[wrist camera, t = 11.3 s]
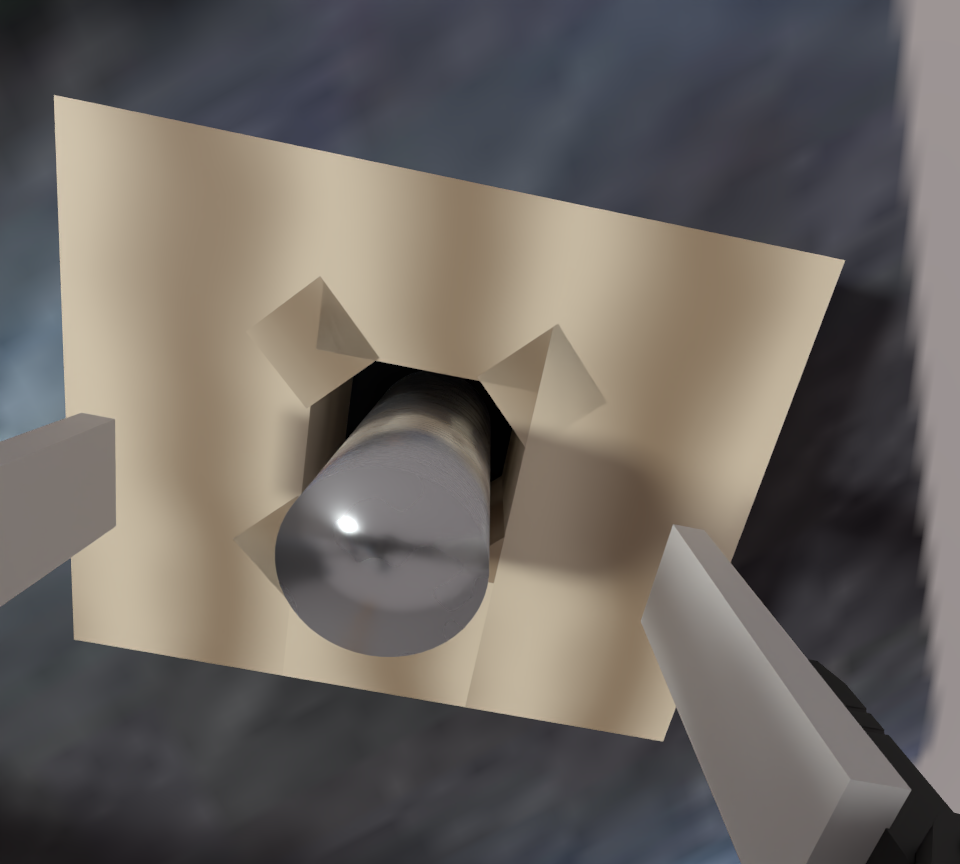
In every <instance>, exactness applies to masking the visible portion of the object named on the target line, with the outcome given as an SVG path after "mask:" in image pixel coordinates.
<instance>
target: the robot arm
mask: <svg viewBox="0 0 960 864" xmlns="http://www.w3.org/2000/svg"><path fill="white" fill-rule="evenodd" d="M114 527H116V458H115V419H112V418H107V417H102V416H96V415H91V414H86V413H79V414H76V415H73V416H71V417H68V418H65V419H62V420H60V421H57V422H54V423H51V424H48V425H46V426H43V427H40V428H37V429H35V430H32V431H29V432H26V433H24V434H21V435H18V436H15V437H12V438H10V439H7V440H4V441H1V442H0V607H1V606H2V605H4V604H5V603H6V602H8V601H9V600H11V599H12V598H14V597H15V596H16V595H18V594H19V593H21V592H22V591H24V590H25V589H26V588H28V587H29V586H31V585H32V584H34V583H35V582H37V581H38V580H39V579H41V578H42V577H44V576H45V575H47V574H48V573H49V572H51V571H52V570H54V569H55V568H57V567H58V566H60V565H61V564H62V563H64V562H65V561H67V560H68V559H70V558H71V557H72V556H74V555H75V554H77V553H78V552H80V551H81V550H83V549H84V548H85V547H87V546H88V545H90V544H91V543H93V542H94V541H95V540H97V539H98V538H100V537H101V536H103V535H104V534H105V533H107V532H108V531H110V530H111V529H113V528H114ZM641 623H642V626H643V628H644V631H645V633H646V635H647V638H648V640H649V643H650V645H651V647H652V650H653V652H654V655H655V657H656V659H657V662H658V664H659V667H660V669H661V671H662V674H663V676H664V679H665V681H666V684H667V686H668V688H669V691H670V693H671V696H672V698H673V700H674V703H675V705H676V708H677V710H678V712H679V715H680V717H681V720H682V722H683V724H684V727H685V729H686V732H687V734H688V736H689V739H690V741H691V744H692V746H693V749H694V751H695V753H696V756H697V758H698V761H699V763H700V765H701V768H702V770H703V773H704V775H705V777H706V780H707V782H708V785H709V787H710V789H711V792H712V794H713V797H714V799H715V801H716V804H717V806H718V809H719V811H720V814H721V816H722V818H723V821H724V823H725V826H726V828H727V830H728V833H729V835H730V838H731V840H732V842H733V845H734V847H735V850H736V852H737V854H738V857H739V859H740V862H741V864H960V814H957V813H954V812H953V811H952V810H951V809H950V808H949V806H948V805H947V804H946V803H945V802H944V801H943V800H942V798H941V797H940V796H939V794H938V793H937V792H936V791H935V790H934V789H933V787H932V786H931V785H930V784H929V783H928V781H927V780H926V779H925V778H924V777H923V775H922V774H921V773H920V772H919V771H918V770H917V768H916V767H915V766H914V765H913V764H912V762H911V761H910V760H909V759H908V758H907V756H906V755H905V754H904V753H903V752H902V750H901V749H900V748H899V747H898V746H897V745H896V743H895V742H894V741H893V740H892V739H891V737H890V736H889V735H885V734H884V729H883V728H882V727H881V726H880V724H879V723H878V722H877V721H876V720H875V718H874V717H873V716H872V715H871V714H869V713H867V712H866V708H865V707H864V705H863V704H862V703H861V702H860V701H859V699H858V698H857V697H856V696H855V695H854V693H853V692H852V691H851V690H850V689H849V688H848V686H847V685H846V684H845V683H844V682H842V681H841V680H840V679H839V678H838V677H836V676H835V675H834V674H833V673H831V672H830V671H829V670H828V669H826V668H825V667H824V666H823V665H821V664H820V663H819V662H818V661H814V660H809V659H807V658H806V657H805V656H804V654H803V653H802V652H801V651H800V649H799V648H798V647H797V646H796V644H795V643H794V642H793V641H792V639H791V638H790V637H789V636H788V634H787V633H786V632H785V631H784V629H783V628H782V627H781V626H780V624H779V623H778V622H777V621H776V619H775V618H774V617H773V615H772V614H771V613H770V612H769V610H768V609H767V608H766V607H765V605H764V604H763V603H762V602H761V600H760V599H759V598H758V597H757V595H756V594H755V593H754V592H753V590H752V589H751V588H750V587H749V585H748V584H747V583H746V582H745V580H744V579H743V578H742V577H741V575H740V574H739V573H738V572H737V570H736V569H735V568H734V567H733V565H732V564H731V563H730V562H729V560H728V559H727V558H726V557H725V555H724V554H723V553H722V552H721V550H720V549H719V548H718V547H717V545H716V544H715V543H714V542H713V540H712V539H711V538H710V537H709V535H708V534H707V533H706V531H705V530H702V529H696V528H691V527H686V526H680V525H675V524H673V526H672V529H671V532H670V535H669V538H668V541H667V544H666V547H665V550H664V553H663V556H662V559H661V562H660V565H659V568H658V571H657V574H656V577H655V580H654V583H653V586H652V589H651V592H650V595H649V598H648V601H647V604H646V607H645V610H644V613H643V616H642V619H641Z"/></svg>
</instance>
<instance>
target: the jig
mask: <svg viewBox="0 0 960 864" xmlns="http://www.w3.org/2000/svg"><path fill="white" fill-rule="evenodd" d="M54 111H55V138H56V165H57V192H58V219H59V246H60V273H61V299H62V326H63V353H64V380H65V407H66V418H68V417H71V416H73V415H76V414H79V413H86V414H91V415H96V416H102V417H107V418H112V419H115V458H116V527H114V528H113V529H111V530H110V531H108V532H107V533H105V534H104V535H103V536H101V537H100V538H98V539H97V540H95V541H94V542H93V543H91V544H90V545H88V546H87V547H85V548H84V549H83V550H81V551H80V552H78V553H77V554H75V555H74V556H72V557H71V569H72V595H73V622H74V639H75V640H81V641H86V642H92V643H98V644H104V645H109V646H115V647H121V648H127V649H133V650H138V651H144V652H150V653H156V654H161V655H167V656H173V657H179V658H185V659H190V660H196V661H202V662H208V663H213V664H219V665H225V666H231V667H236V668H242V669H248V670H254V671H260V672H265V673H271V674H277V675H283V676H288V677H294V678H300V679H306V680H312V681H317V682H323V683H329V684H335V685H340V686H346V687H352V688H358V689H363V690H369V691H375V692H381V693H387V694H392V695H398V696H404V697H410V698H415V699H421V700H427V701H433V702H439V703H444V704H450V705H456V706H462V707H467V708H473V709H479V710H485V711H490V712H496V713H502V714H508V715H514V716H519V717H525V718H531V719H537V720H542V721H548V722H554V723H560V724H566V725H571V726H577V727H583V728H589V729H594V730H600V731H606V732H612V733H617V734H623V735H629V736H635V737H641V738H646V739H652V740H658V741H663V740H664V737H665V735H666V732H667V729H668V727H669V724H670V721H671V719H672V716H673V713H674V711H675V708H676V705H675V703H674V700H673V698H672V696H671V693H670V691H669V688H668V686H667V684H666V681H665V679H664V676H663V674H662V671H661V669H660V667H659V664H658V662H657V659H656V657H655V655H654V652H653V650H652V647H651V645H650V643H649V640H648V638H647V635H646V633H645V631H644V628H643V626H642V623H641V619H642V616H643V613H644V610H645V607H646V604H647V601H648V598H649V595H650V592H651V589H652V586H653V583H654V580H655V577H656V574H657V571H658V568H659V565H660V562H661V559H662V556H663V553H664V550H665V547H666V544H667V541H668V538H669V535H670V532H671V529H672V526H673V524H675V525H680V526H686V527H691V528H696V529H702V530H705V531H706V533H707V534H708V535H709V537H710V538H711V539H712V540H713V542H714V543H715V544H716V545H717V547H718V548H719V549H720V550H721V552H722V553H723V554H724V555H725V557H726V558H727V559H728V560H729V562H730V563H731V560H732V558H733V555H734V552H735V550H736V547H737V544H738V542H739V539H740V537H741V534H742V531H743V529H744V526H745V523H746V521H747V518H748V515H749V513H750V510H751V507H752V505H753V502H754V500H755V497H756V494H757V492H758V489H759V486H760V484H761V481H762V478H763V476H764V473H765V470H766V468H767V465H768V463H769V460H770V457H771V455H772V452H773V449H774V447H775V444H776V441H777V439H778V436H779V434H780V431H781V428H782V426H783V423H784V420H785V418H786V415H787V412H788V410H789V407H790V404H791V402H792V399H793V397H794V394H795V391H796V389H797V386H798V383H799V381H800V378H801V375H802V373H803V370H804V367H805V365H806V362H807V360H808V357H809V354H810V352H811V349H812V346H813V344H814V341H815V338H816V336H817V333H818V331H819V328H820V325H821V323H822V320H823V317H824V315H825V312H826V309H827V307H828V304H829V301H830V299H831V296H832V294H833V291H834V288H835V286H836V283H837V280H838V278H839V275H840V272H841V270H842V267H843V264H844V262H845V260H841V259H836V258H831V257H826V256H822V255H817V254H812V253H807V252H803V251H798V250H793V249H788V248H783V247H779V246H774V245H769V244H764V243H760V242H755V241H750V240H745V239H740V238H736V237H731V236H726V235H721V234H717V233H712V232H707V231H702V230H697V229H693V228H688V227H683V226H678V225H673V224H669V223H664V222H659V221H654V220H650V219H645V218H640V217H635V216H630V215H626V214H621V213H616V212H611V211H607V210H602V209H597V208H592V207H587V206H583V205H578V204H573V203H568V202H563V201H559V200H554V199H549V198H544V197H540V196H535V195H530V194H525V193H520V192H516V191H511V190H506V189H501V188H497V187H492V186H487V185H482V184H477V183H473V182H468V181H463V180H458V179H453V178H449V177H444V176H439V175H434V174H430V173H425V172H420V171H415V170H410V169H406V168H401V167H396V166H391V165H387V164H382V163H377V162H372V161H367V160H363V159H358V158H353V157H348V156H344V155H339V154H334V153H329V152H324V151H320V150H315V149H310V148H305V147H300V146H296V145H291V144H286V143H281V142H277V141H272V140H267V139H262V138H257V137H253V136H248V135H243V134H238V133H234V132H229V131H224V130H219V129H214V128H210V127H205V126H200V125H195V124H190V123H186V122H181V121H176V120H171V119H167V118H162V117H157V116H152V115H147V114H143V113H138V112H133V111H128V110H124V109H119V108H114V107H109V106H104V105H100V104H95V103H90V102H85V101H81V100H76V99H71V98H66V97H61V96H57V95H54ZM375 361H380V362H385V363H390V364H395V365H400V366H405V367H410V368H415V369H421V370H426V371H431V372H436V373H441V374H446V375H451V376H456V377H461V378H467V379H472V380H477V381H480V382H481V383H482V385H483V386H484V387H485V389H486V390H487V392H488V393H489V395H490V396H491V398H492V399H493V401H494V402H495V404H496V405H497V406H498V408H499V409H500V411H501V412H502V414H503V415H504V417H505V418H506V420H507V421H508V423H509V424H510V425H511V427H512V432H511V436H510V441H509V445H508V450H507V454H506V459H505V463H504V468H503V472H502V476H500V477H498V478H497V479H495V480H493V481H492V482H490V542H489V579H488V586H487V589H486V593H485V596H484V599H483V601H482V603H481V605H480V607H479V609H478V611H477V612H476V614H475V615H474V617H473V618H472V620H471V621H470V622H469V623H468V624H467V625H466V627H465V628H464V629H463V630H461V631H460V632H459V633H458V634H457V635H456V636H454V637H453V638H451V639H450V640H448V641H447V642H445V643H443V644H441V645H439V646H437V647H435V648H433V649H430V650H428V651H425V652H422V653H418V654H413V655H409V656H400V657H378V656H370V655H365V654H360V653H356V652H353V651H350V650H347V649H344V648H342V647H340V646H337V645H335V644H333V643H331V642H329V641H328V640H326V639H324V638H323V637H321V636H320V635H318V634H317V633H316V632H314V631H313V630H312V629H311V628H309V627H308V626H307V625H306V624H305V623H304V622H303V621H302V620H301V619H300V618H299V617H298V615H297V614H296V613H295V612H294V610H293V609H292V608H291V606H290V604H289V603H288V601H287V599H286V598H285V596H284V594H283V591H282V589H281V587H280V584H279V580H278V577H277V573H276V566H275V546H276V539H277V535H278V532H279V529H280V526H281V523H282V521H283V519H284V517H285V515H286V513H287V512H288V511H289V509H290V508H291V506H292V505H293V503H294V502H295V501H296V500H297V499H298V497H299V496H300V495H301V494H302V493H303V491H304V490H305V489H306V488H307V487H308V485H309V484H310V483H311V482H312V481H313V479H314V478H315V477H316V476H317V475H318V473H319V472H320V471H321V470H322V469H323V467H324V466H325V465H326V464H327V463H328V461H329V460H330V459H331V458H332V457H333V455H334V454H335V453H336V452H337V451H338V449H339V448H340V447H341V446H342V444H343V443H344V442H345V438H346V430H347V422H348V415H349V407H350V399H351V391H352V383H353V376H354V375H356V374H357V373H359V372H360V371H362V370H363V369H364V368H366V367H367V366H369V365H370V364H372V363H373V362H375Z"/></svg>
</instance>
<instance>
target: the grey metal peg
mask: <svg viewBox="0 0 960 864" xmlns="http://www.w3.org/2000/svg"><path fill="white" fill-rule="evenodd" d="M490 450H491V422H490V416H489V412H488V409H487V406H486V404H485V402H484V400H483V399H482V397H481V395H480V394H479V393H478V392H477V390H476V389H475V388H474V387H473V386H472V385H470V384H469V383H468V382H466V381H465V380H464V379H462V378H460V377H456V376H451V375H446V374H441V373H436V372H431V371H419V372H415V373H412V374H410V375H407V376H405V377H403V378H402V379H400V380H398V381H397V382H396V383H394V384H393V385H392V386H391V387H390V388H389V389H388V390H387V392H386V393H385V394H384V395H383V396H382V398H381V399H380V400H379V401H378V402H377V404H376V405H375V406H374V407H373V408H372V410H371V411H370V412H369V413H368V414H367V416H366V417H365V418H364V419H363V420H362V422H361V423H360V424H359V425H358V426H357V428H356V429H355V430H354V431H353V432H352V434H351V435H350V436H349V437H348V438H347V440H346V441H345V442H344V443H343V444H342V446H341V447H340V448H339V449H338V451H337V452H336V453H335V454H334V455H333V457H332V458H331V459H330V460H329V461H328V463H327V464H326V465H325V466H324V467H323V469H322V470H321V471H320V472H319V473H318V475H317V476H316V477H315V478H314V479H313V481H312V482H311V483H310V484H309V485H308V487H307V488H306V489H305V490H304V491H303V493H302V494H301V495H300V496H299V497H298V499H297V500H296V501H295V502H294V503H293V505H292V506H291V508H290V509H289V511H288V512H287V513H286V515H285V517H284V519H283V521H282V523H281V526H280V529H279V532H278V535H277V539H276V546H275V566H276V573H277V577H278V580H279V584H280V587H281V589H282V591H283V594H284V596H285V598H286V599H287V601H288V603H289V604H290V606H291V608H292V609H293V610H294V612H295V613H296V614H297V615H298V617H299V618H300V619H301V620H302V621H303V622H304V623H305V624H306V625H307V626H308V627H309V628H311V629H312V630H313V631H314V632H316V633H317V634H318V635H320V636H321V637H323V638H324V639H326V640H328V641H329V642H331V643H333V644H335V645H337V646H340V647H342V648H344V649H347V650H350V651H353V652H356V653H360V654H365V655H370V656H378V657H400V656H409V655H413V654H418V653H422V652H425V651H428V650H430V649H433V648H435V647H437V646H439V645H441V644H443V643H445V642H447V641H448V640H450V639H451V638H453V637H454V636H456V635H457V634H458V633H459V632H460V631H461V630H463V629H464V628H465V627H466V625H467V624H468V623H469V622H470V621H471V620H472V618H473V617H474V615H475V614H476V612H477V611H478V609H479V607H480V605H481V603H482V601H483V599H484V596H485V593H486V589H487V586H488V579H489V542H490Z"/></svg>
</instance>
